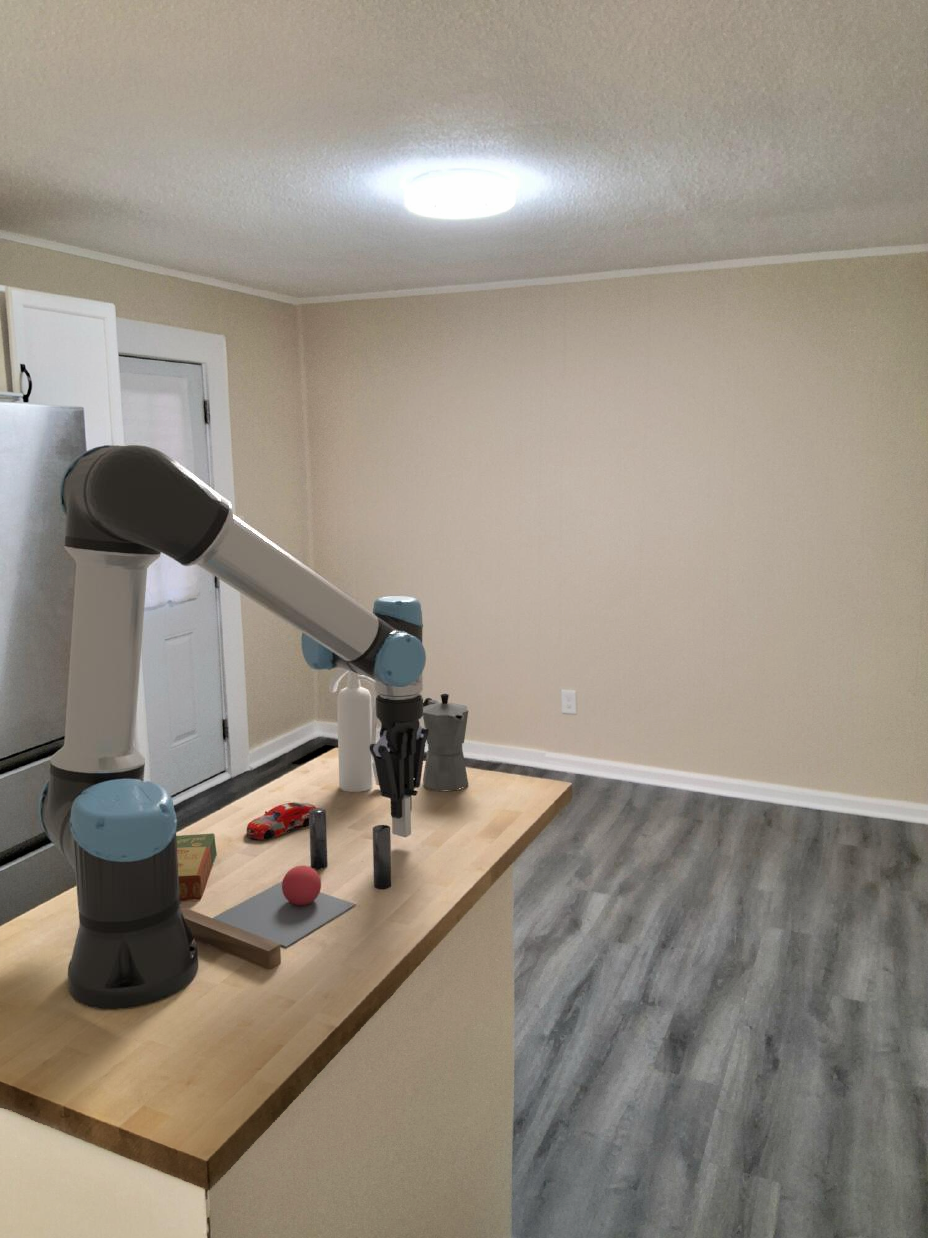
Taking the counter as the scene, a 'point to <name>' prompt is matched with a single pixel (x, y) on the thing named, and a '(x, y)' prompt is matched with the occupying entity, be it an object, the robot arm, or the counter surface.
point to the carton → (194, 864)
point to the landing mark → (283, 915)
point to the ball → (301, 885)
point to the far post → (318, 838)
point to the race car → (280, 820)
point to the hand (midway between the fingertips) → (401, 834)
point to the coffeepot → (445, 744)
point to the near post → (382, 857)
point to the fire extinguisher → (355, 732)
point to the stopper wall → (233, 940)
